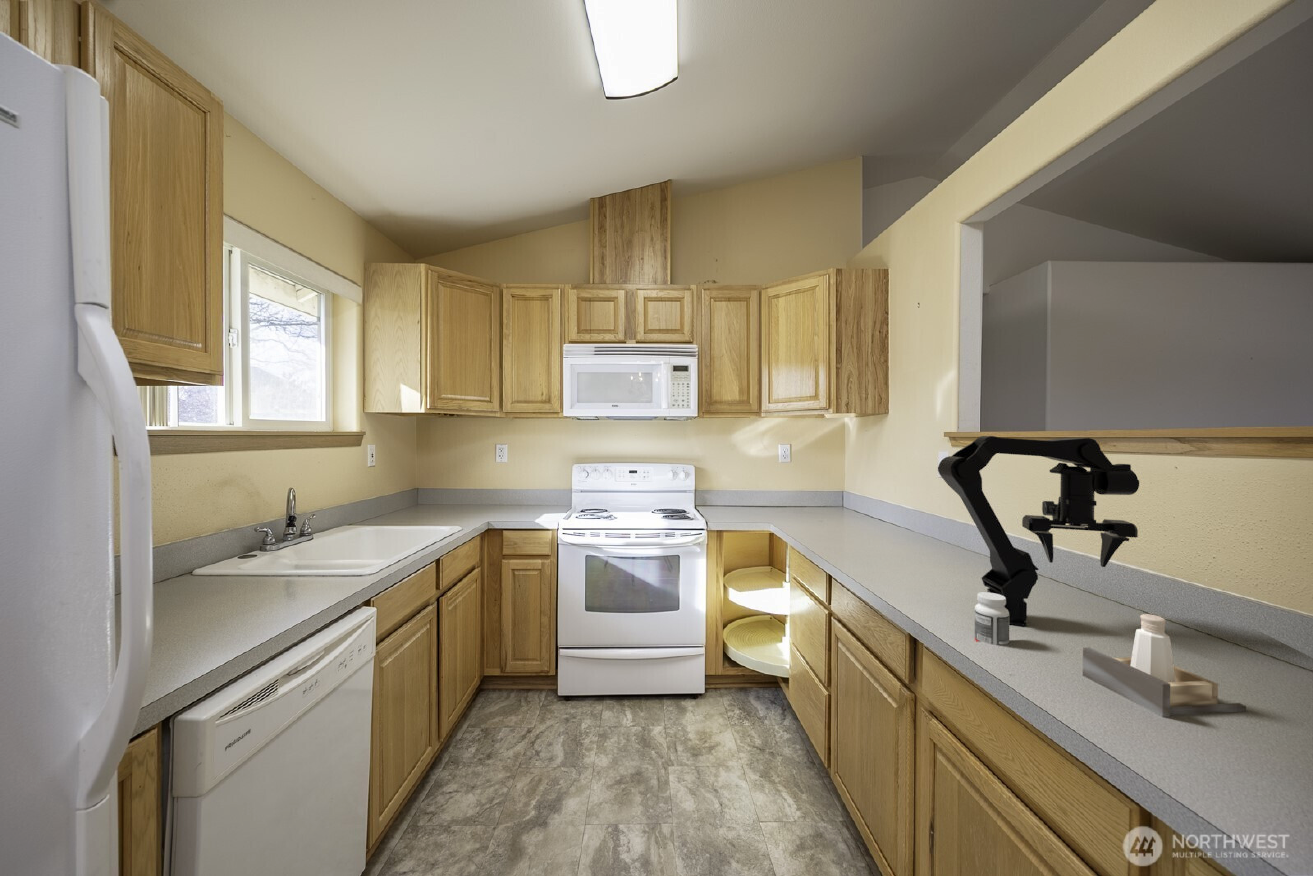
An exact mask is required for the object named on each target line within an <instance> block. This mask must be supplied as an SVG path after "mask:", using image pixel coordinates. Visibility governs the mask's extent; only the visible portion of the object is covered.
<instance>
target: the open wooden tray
mask: <svg viewBox="0 0 1313 876" xmlns="http://www.w3.org/2000/svg"><path fill="white" fill-rule="evenodd" d="M1114 658H1115V657H1112V656H1109V655H1107V654H1105V653H1103V652H1101V651H1099V650H1097V649H1094V648H1092V647H1089V646H1088V647H1083V648H1082V677H1085V678H1087V679H1088V680H1090V681H1092V682H1094V683H1096V684H1098V685H1100V686H1102V687H1104V688H1106V689H1108V690H1110V691H1112V692H1113V693H1115V694H1118V695H1119V696H1121V697H1123V698H1125V699H1127V700H1129V701H1131V702H1133V703H1134V704H1136V705H1139V706H1140V707H1143V708H1144V709H1146V710H1148V711H1149V712H1152V713H1154V714H1155V715H1157V716H1160V717H1161V718H1170V717H1171V716H1177V715H1178V716H1180V715H1181V716H1182V715H1184V716H1185V715H1199V714H1200V715H1201V714H1202V715H1203V714H1215V713H1216V714H1217V713H1218V714H1220V713H1234V712H1236V713H1237V712H1247V705H1245V704H1242V703H1240V702H1238V703H1237V702H1234V703H1233V702H1232V703H1218V704H1212V705H1193V706H1175V707H1170V684H1169V683H1167V682H1165V681H1163V680H1160V679H1158V678H1156V677H1154V676H1151V675H1149V674H1147V673H1145V672H1143V671H1140V670H1138V669H1136V668H1134V667H1132V666H1129V665H1127V664H1125V663H1123V662H1121V661H1118V660H1116V659H1114Z"/></svg>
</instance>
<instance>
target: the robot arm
mask: <svg viewBox="0 0 1313 876" xmlns="http://www.w3.org/2000/svg"><path fill="white" fill-rule="evenodd" d="M997 454H1004V455H1017V456H1030V457H1031V456H1033V457H1042V458H1046V459H1050V460H1053V461H1058V463H1057V464H1056V465H1055V466H1053V467H1052V468H1050V469H1049V473H1051V474H1058V475H1060V493H1059V494H1060V495H1059V496H1058V499H1057V500H1058V501H1057V503H1055V502H1054V501H1053V500H1051V501H1050V500H1043V501H1042V504H1041V509H1042V515H1034V514H1033V515H1031V514H1029V515H1028V514H1024V516H1023V517H1022V518H1021V519H1022V521H1021V524H1022V525H1021V526H1022V527H1023V528H1024V529H1026V530H1028V531H1029V532H1030V533H1032V534H1034V535H1036V536H1037V538H1038V539H1039V541H1040V543H1041V545H1042V547H1043V550H1044V553H1045V555H1046V558H1047V560H1048V562H1049V563H1051V564H1052V563H1053V562H1054V538H1053V537H1054V536H1053V535H1054V534H1053V533H1052V532H1050V530H1052V529H1056V530H1057V529H1058V530H1074V531H1075V530H1076V531H1093V532H1100V539H1101V548H1100V566H1101V568H1106V566H1107V565H1108V563H1109V562H1110V560H1111V559H1112V557H1113V555H1114V554H1115V552H1117V550H1118V549H1119V547H1121V545H1122V544H1123V543H1124V542H1130V538H1135V539H1136V538H1138V536H1139V535H1138V534H1139V533H1138V532H1139V531H1138V527H1137V526H1136V524H1135V523H1132V522H1129V521H1127V520H1122V519H1107V518H1106V519H1105V518H1104V519H1103V520H1102V522H1097V519H1095V506H1097V500H1095V493H1096V494H1098V495H1105V496H1107V495H1109V496H1111V495H1112V496H1130V495H1134V494H1135V493H1137V491H1138V490H1139V488H1140V479H1138V476H1137V474H1136V473H1135V472H1134V471H1133V470H1132V465H1131V464H1129V463H1115V464H1113V463H1112V462H1111V460H1110V459H1109V458H1108V457H1107V456H1106V455H1105V453H1104V452H1103V451H1102V449H1101V445H1099V443H1098V442H1097V440H1095V439H1094V438H1091V437H1061V438H1051V439H1045V440H1042V439H1026V438H1011V437H1010V438H1009V437H1008V438H1007V437H997V436H994V435H981V436H978V438H976V439H975V440H974V441H972V442H971V443H970V444H967V445H966V446H965V447H963V448H961V449H959V450H957V451H956V452H954V453H953V454H952V455H951V456H949V455H948V456H946V457H944V458H942V459H941V461H940V462H939V464H938V466H937V471H938V474H939V476H940V477H941V478H942V479H943V481H944V482H945V483H946V484H947V485H948V486H949V487H950V488H951V490H953V491H954V492H955V493H956V494H957V495H958V496H959V497H960V499H961V500H962V502H963V505H964V506H965V508H966V510H967V511H968V514H969V516H970V518H971V519H972V521H973V522H974V524H975V526H976V528H977V529H978V532H979V534H980V535H981V537H982V539H983V540H984V543H985V544H986V547H987V548H988V550H989V562H990V564H991V569H990V570H989V571H987V572H986V573H985V574H984V575H982V577H981V581H982V583H983V585H984V587H987V589H986V590H987V591H986V592H990V593H996V594H999V595H1002V596H1004V597H1005V598H1006V605H1005V606H1004V607H1005V608H1006V609H1007V610H1008V611H1009V625H1014V626H1021V627H1026V626H1027V623H1026V621H1027V617H1028V614H1027V613H1028V609H1027V608H1028V607H1027V606H1028V603H1027V602H1026V601H1025V599H1026V600H1027V599H1029V596H1030V594H1031V593H1032V592H1031V591H1032V590H1033V587H1034V586H1035V585H1036V584H1037V581H1038V580H1039V575H1038V573H1037V571H1039V568H1038V567H1037V566H1036V565H1035V564H1034V562H1033V559H1032V556H1031V554H1030V553H1029V552H1027V551H1024V550H1022V549H1019V548H1016V547H1014V546H1013V543H1012V542H1011V540H1010V537H1008V535H1007V533H1006V531H1005V530H1004V528H1003V526H1002V523H1001V522H1000V519H999V518H998V517H997V515H996V512H994V509H993V508H992V506H991V504H990V502H989V500H988V499H987V497H986V496H985V493H984V491H983V477H982V475H981V471H982V470H983V469H984V468H985V467H987V466H988V464H989V463H990V461H991V460H992V459H993V457H995V456H996V455H997ZM1068 464H1073V465H1074V466H1072V465H1071V466H1070V465H1068ZM1086 468H1088V469H1089V470H1087V469H1086ZM1046 516H1049V517H1051V518H1052V519H1050V518H1049V517H1046Z"/></svg>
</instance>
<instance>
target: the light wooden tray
mask: <svg viewBox="0 0 1313 876" xmlns="http://www.w3.org/2000/svg"><path fill="white" fill-rule="evenodd" d="M1113 658H1114V659H1116V660H1118V661H1121V662H1123V663H1125V664H1127V665H1129V666H1130V664H1131V658H1132V656H1129V657H1128V656H1125V657H1113ZM1174 672H1175V680H1176V682H1169V684H1170V707H1175V706H1193V705H1212V704H1219V703H1218V702H1219V684H1218V683H1217V682H1214V681H1212V680H1209V679H1208V678H1205V677H1202V676H1200V675H1198V674H1195V673H1192V672H1190V671H1188V670H1186V669H1183V668H1181V667H1178V666H1176V665H1174Z"/></svg>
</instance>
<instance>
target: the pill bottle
mask: <svg viewBox="0 0 1313 876" xmlns="http://www.w3.org/2000/svg"><path fill="white" fill-rule="evenodd" d="M976 599H977V601H978V603H977V604H975V606H974V642H975V643H978V642H979V643H986V644H989V645H995V646H1008V645H1010V624H1009V611H1008V610H1007V609H1006V608H1005V607H1004V606H1005V605H1006V598H1005V597H1004V596H1002V595H999V594H996V593H990V592H987V591H981V592H978V593H977V597H976Z"/></svg>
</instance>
